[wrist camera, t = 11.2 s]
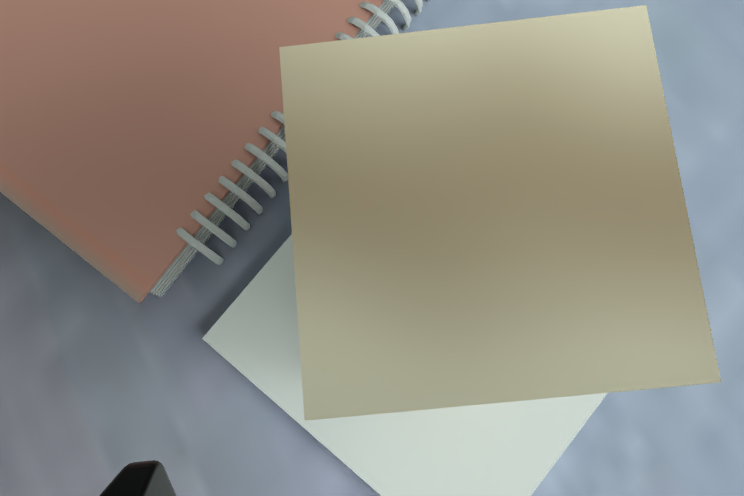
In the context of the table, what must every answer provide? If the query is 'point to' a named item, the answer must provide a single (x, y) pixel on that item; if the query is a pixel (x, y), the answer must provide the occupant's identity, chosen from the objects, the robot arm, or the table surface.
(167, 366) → the table surface
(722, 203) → the table surface
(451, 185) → the maple block
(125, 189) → the notebook
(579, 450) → the table surface
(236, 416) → the table surface
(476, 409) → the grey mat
